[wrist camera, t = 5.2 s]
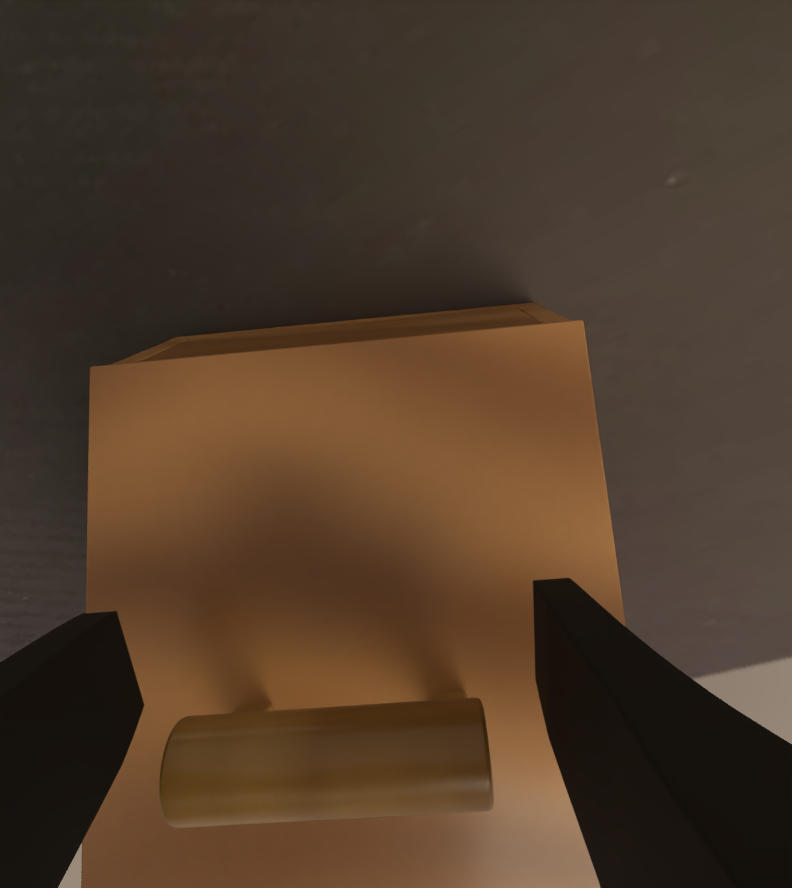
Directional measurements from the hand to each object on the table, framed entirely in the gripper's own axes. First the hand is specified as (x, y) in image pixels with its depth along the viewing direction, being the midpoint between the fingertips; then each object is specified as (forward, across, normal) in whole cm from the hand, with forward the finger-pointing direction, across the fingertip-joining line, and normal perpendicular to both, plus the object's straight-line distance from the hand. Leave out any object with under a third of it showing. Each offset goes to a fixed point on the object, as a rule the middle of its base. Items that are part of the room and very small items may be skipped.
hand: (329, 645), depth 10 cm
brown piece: (+3, 0, +1) cm, 3 cm away
